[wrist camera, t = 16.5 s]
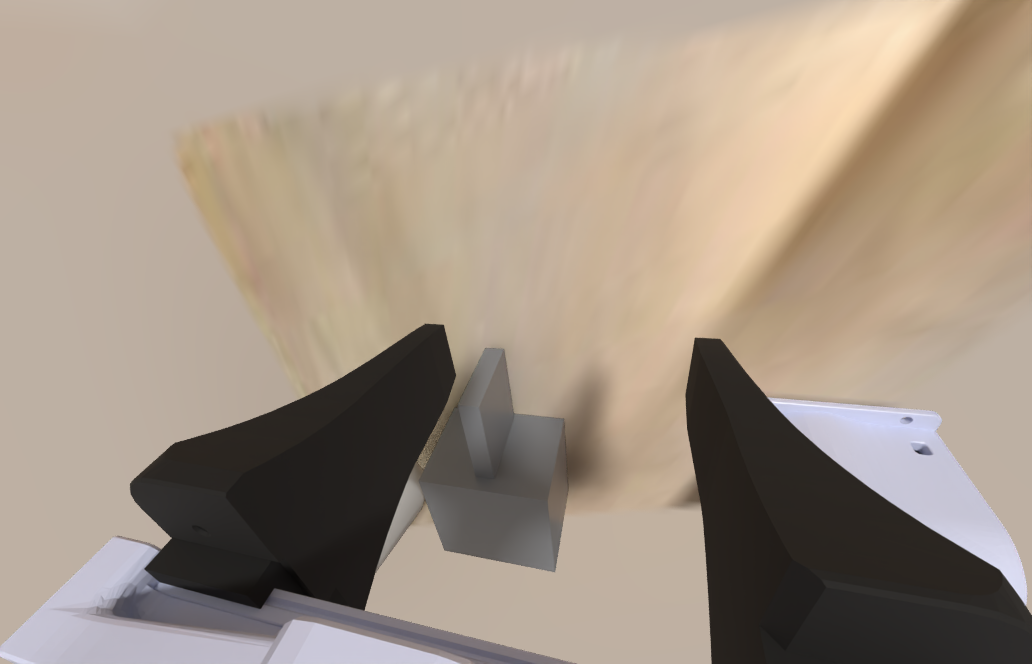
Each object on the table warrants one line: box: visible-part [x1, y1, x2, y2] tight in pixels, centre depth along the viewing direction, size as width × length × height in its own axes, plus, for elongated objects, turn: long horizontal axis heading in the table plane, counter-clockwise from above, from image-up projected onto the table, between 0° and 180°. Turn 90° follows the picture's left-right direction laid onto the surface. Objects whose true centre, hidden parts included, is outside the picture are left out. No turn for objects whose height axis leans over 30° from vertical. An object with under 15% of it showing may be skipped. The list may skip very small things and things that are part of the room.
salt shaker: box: [375, 462, 425, 573], centre depth 32 cm, size 6×6×13 cm
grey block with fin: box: [419, 348, 568, 572], centre depth 28 cm, size 14×8×6 cm, turn 5°
